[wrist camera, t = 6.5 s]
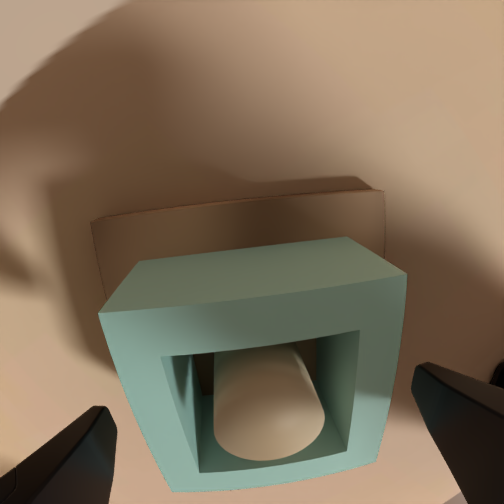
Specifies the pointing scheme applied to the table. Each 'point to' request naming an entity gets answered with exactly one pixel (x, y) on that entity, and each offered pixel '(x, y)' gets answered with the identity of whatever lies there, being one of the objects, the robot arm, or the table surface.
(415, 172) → the table surface
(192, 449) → the teal square frame
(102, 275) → the square base with peg
